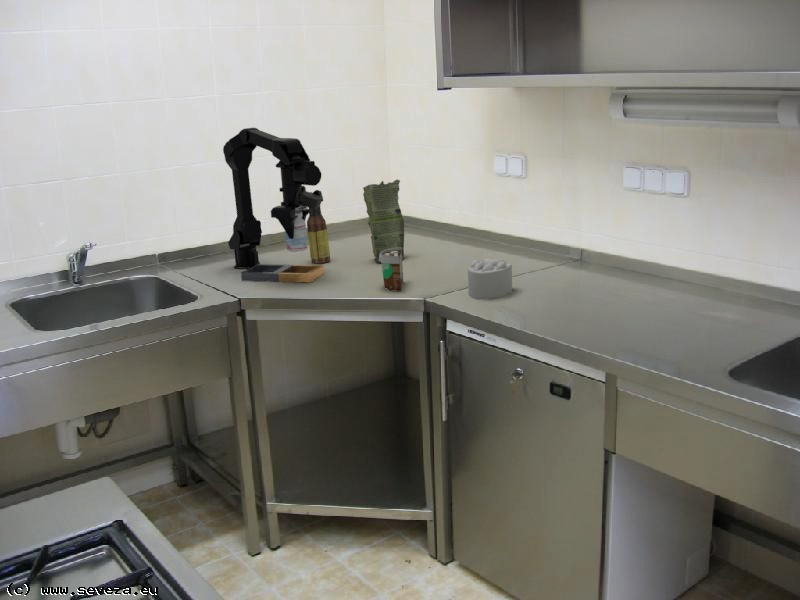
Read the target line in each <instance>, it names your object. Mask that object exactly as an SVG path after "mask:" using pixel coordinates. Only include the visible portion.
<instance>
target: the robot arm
mask: <svg viewBox="0 0 800 600" xmlns="http://www.w3.org/2000/svg"><path fill="white" fill-rule="evenodd" d="M257 147H259V148H261V149H264V150H267V151H270V153H271V154H272V156H273V157H274V158H276V159H277V160H279V161H278V162H277V163H276V164H275V167H276V168H277V169H280V178H281V179H280V180H281V187H279V188H278V189H279V193H282V201H280V205H277V206H275V207H272V209H271V210H270V218H274V219H276V220H278V222H279V224H280V225H281V226H282V229H283V230H284V232H285V231H286V233H287V235H288V237H289V238H290V239H293V238H294V221H295V220H296V218H297V217H298V216H295V213H296V211H301V212H302V215H303V216H302V219H303V220H304V221H305V222H306V221H307V220H306V218H307V216H309V212H310V211H312V209H313V210H316V209H317V208H320V209H321V204H322V202H324V197H323V194H322V191H321V190H319V189H316V190H314V191H313V192H312V191H310V192H309V191H307V189H306V188H307V187H306V186H312V187H315V186H317V185H319V183H320V182H321V179H322V171H321V170H320V168H319V167H318V166H317V165H316V162H315V161H314V160H311V159H310V157H309V154H308V153H307V152H306V150H305V147H304V146H303V145H302V142H301V140H300V139H298V138H295V137H294V138H293V137H278V136H277V135H274V134H272V133H271V134H270V133H268V132H265V131H263V130H260V129H258V128H256V127H247V128H242V129H241V130H240V131H239V132H238V133H237V134H236V135H234V136H233V137H231V138H230V139H229V140H228V141H226V142H225V144H224V145H223V149H222V151H223V155H224V160H225V163H226V164H227V166H228V167H229V168H230V169H231V174H232V182H233V183H232V184H233V191H234V198H235V199H234V201H235V208H236V209H235V210H236V218H235V220H234V222H233V225H232V227H233V228H232V231H233V233H232V235H231V237H230V238H229V241H228V243H227V244H228V247H229V249H230V250H233V252H234V253H233V254H234V260H235V262H234V263H235V265H234V266H233V268H234V269H249V268H251V267H253V266H255V265H257V264H261V262H260V260H259V252H258V250H257V247H259V246H261V241H262V240H261V238H262V233H263V230H262V222H261V221H260V220H257V218H256V216H255V215H254V209H253V200H252V192H251V191H252V190H251V182H250V173H249V172H250V171H249V168H250V165H251V163H252V161H253V152H254V150H255V149H256V148H257ZM309 208H310V209H309ZM286 233H285V234H286Z"/></svg>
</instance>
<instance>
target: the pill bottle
mask: <svg viewBox="0 0 800 600" xmlns="http://www.w3.org/2000/svg"><path fill="white" fill-rule="evenodd" d="M295 216H298V217H297V218H296V220H295V221H294V238H293V239H290V238H289V237H288V235H287V233H286V231H285V230H284V232H285V241H286V250H287V251H288V252H291V253H296V252H304V251H306V250H308V248H309V247H308V233H307V222H306V220H305V221H304V220H303V219H302V216H303V215H302V212H301V211H296V213H295Z"/></svg>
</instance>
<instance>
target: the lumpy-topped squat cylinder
mask: <svg viewBox="0 0 800 600" xmlns="http://www.w3.org/2000/svg"><path fill="white" fill-rule="evenodd" d="M512 267H513V265H512V263H511V262H507V261H506V260H505V259H501V258H492V257H488V258H487V257H486V258H484V259H483V260H481V261H480V260H479V259H474V260H472V261H471V262H470V265H469V266H468V268H467V283H468V286H467V287H468V289H467V290H468V291H467V292H468V296H469V297H470V298H472V299H474V300H492V299H493V300H494V299H499V298H501V297H502V298H503V297H504V296H505V297H506V296H507V295H509V294H510V293H512V291H513V268H512Z"/></svg>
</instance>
